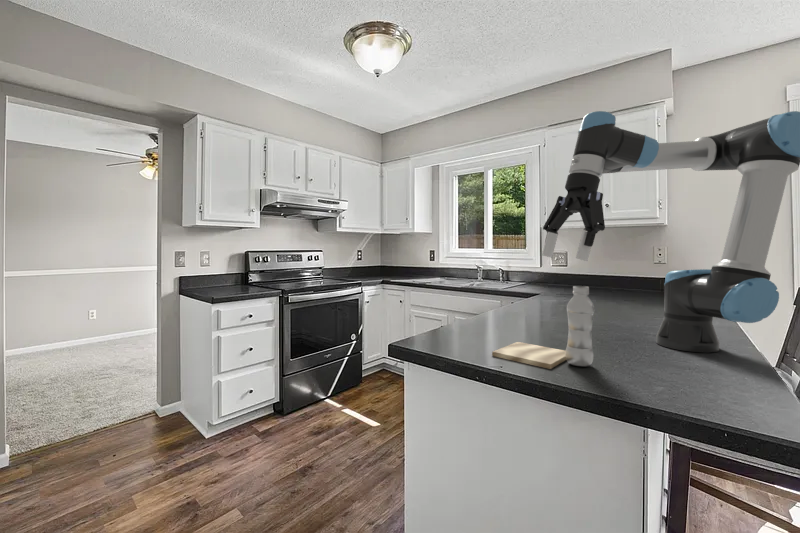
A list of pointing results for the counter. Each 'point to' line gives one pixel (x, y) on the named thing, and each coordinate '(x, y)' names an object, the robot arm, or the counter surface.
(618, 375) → the counter surface
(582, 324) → the plastic bottle
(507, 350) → the birch board
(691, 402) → the counter surface
